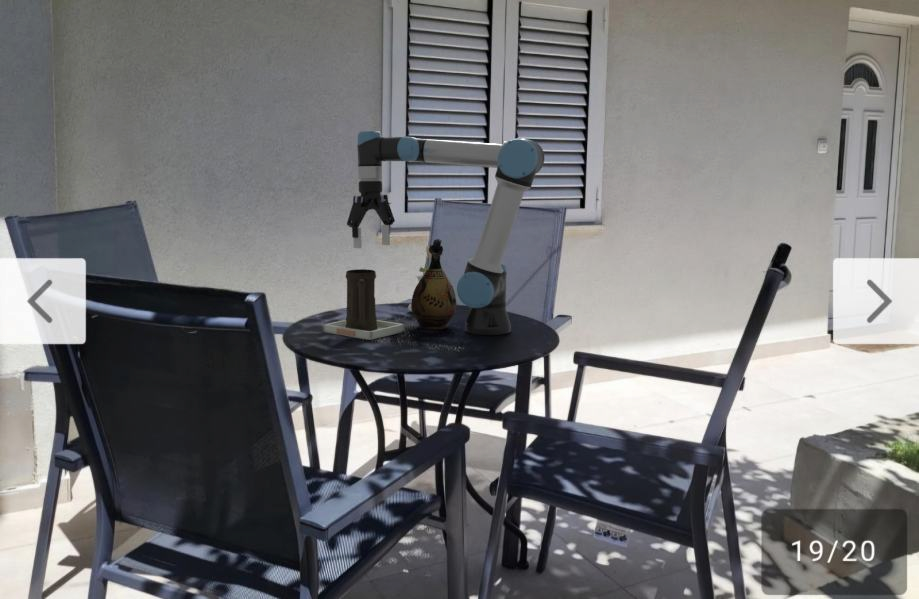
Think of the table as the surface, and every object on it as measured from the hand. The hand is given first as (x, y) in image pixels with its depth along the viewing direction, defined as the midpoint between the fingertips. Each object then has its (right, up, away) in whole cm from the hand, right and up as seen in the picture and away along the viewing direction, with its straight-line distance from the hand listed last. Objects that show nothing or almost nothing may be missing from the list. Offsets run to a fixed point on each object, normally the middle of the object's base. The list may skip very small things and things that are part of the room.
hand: (372, 246), depth 275 cm
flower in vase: (+15, -22, +44) cm, 52 cm away
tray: (-3, -28, +6) cm, 29 cm away
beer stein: (-4, -28, +5) cm, 28 cm away
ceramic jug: (+20, -27, +15) cm, 36 cm away
